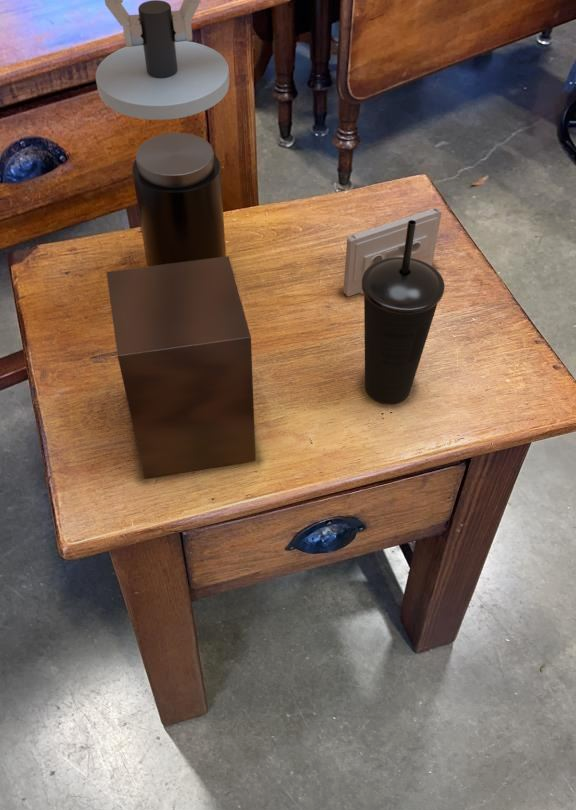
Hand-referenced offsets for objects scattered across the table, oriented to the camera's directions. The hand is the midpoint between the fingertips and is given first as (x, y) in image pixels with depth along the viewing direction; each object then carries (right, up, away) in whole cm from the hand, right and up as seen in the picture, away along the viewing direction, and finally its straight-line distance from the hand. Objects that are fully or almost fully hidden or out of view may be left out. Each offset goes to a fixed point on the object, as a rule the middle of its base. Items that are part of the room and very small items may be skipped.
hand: (159, 40), depth 68 cm
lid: (0, -2, +3) cm, 4 cm away
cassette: (+22, -11, +30) cm, 39 cm away
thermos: (-1, -11, +30) cm, 32 cm away
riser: (+1, -30, +16) cm, 34 cm away
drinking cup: (+21, -26, +20) cm, 39 cm away
